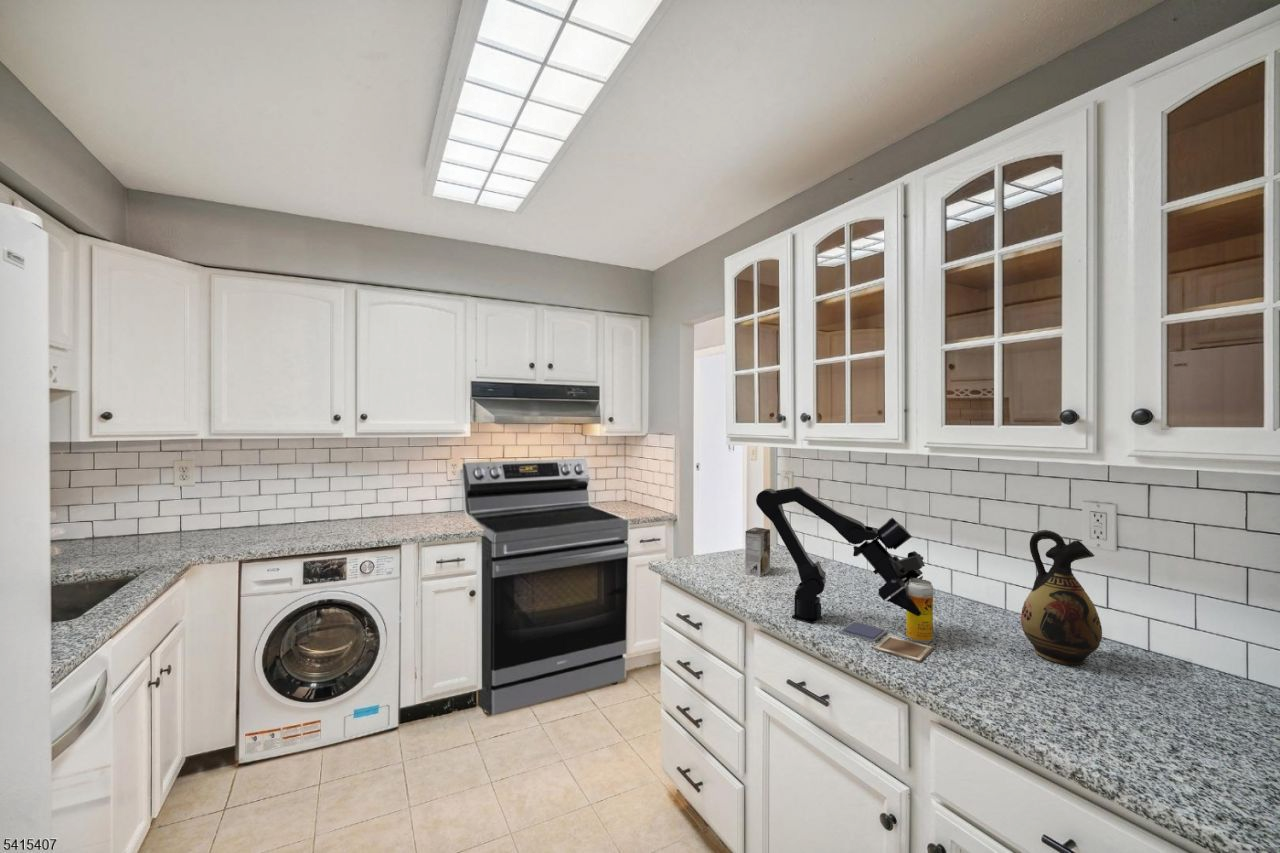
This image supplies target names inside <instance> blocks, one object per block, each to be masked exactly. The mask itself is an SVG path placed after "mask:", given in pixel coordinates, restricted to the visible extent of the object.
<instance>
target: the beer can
mask: <svg viewBox="0 0 1280 853" xmlns="http://www.w3.org/2000/svg"><path fill="white" fill-rule="evenodd" d="M907 586H908V595H909V596H910V597H911V599H912V600H913V602H914V603H915V605H916V606H917V607H918V609H919V611H920V612H921V615H920V616H916V615H914V614H913V613H911V612H909V611H907V610H905V611H906V616H905V617H906V619H905V621H906V626H905V627H906V630H905V632H906V636H907V637H908V640H909V641H912V642H915V643H919V644H929V643H930V642H931V641H933V636H934V633H933V632H934V627H933V626H934V625H933V624H934V623H933V622H934V586H933V583H932V582H931V581H930V580H927V579H924V578H922V579H909V581H908V583H907Z"/></svg>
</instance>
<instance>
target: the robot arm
mask: <svg viewBox="0 0 1280 853" xmlns="http://www.w3.org/2000/svg"><path fill="white" fill-rule="evenodd" d="M755 502H756V506H757V507H758V508H759V510H761V512H762V514H764V516H765V517H766V518H767V519H769V520H770V521H771V522H772V524H773V526H774V528H775V529H776V531H777V533H778V535H779V537H780V539H781V540H782V542H783V543H784V545H785V547H786V549H787V551H788V553H789V555H790V556H791V558H792V559H793V561H794V564H795V565H796V567H797V571H798V574H799V575H798V576H799V579H800V582H799V583H798V585H797V586H796V590H795V592H794V605H793V606H794V607H793V608H794V611H793V612H794V614H792V615H791V619H794V620H799V621H802V622H807V623H811V624H815V622H818V621H819V620H821V619H823V615H822V603H821V598H820V597H819V595H821V594H822V593H823V591H824V589H825V586H826V584H827V578H826V575H827V573H826V571H824V570H823V568H822V565H821V563H820V561H819V560H818V561H816V562H814V561H813V560H812V559H811V558H810V557H809V555H808V553H807V552H806V550H805V547H804V546H803V545H802V543H801V541H800V538H799V537H798V535H797V534H796V531H795V530H794V529H793V527H792V525H791V523H790V522H789V520H788V518H787V517H786V513H785V511H784V507H783V505H785V504H789V503H797V504H799V505H800V506H802V507H803V508H805V509H806V510H808V512H811V513H813V514H814V515H815V516H817V517H819V518H820V519H821V520H823V521H824V522H826V523H828V524H829V525H830V526H832V527H833V528H834V529H835V530H836V532H837V533H839V535H840V536H841V537H842V538H844V539H845V540H846V541H847V542H848V543H850V544H852V545H853V553H852V555H853V557H859V556H860V555H862V556H863V558H864V559H865V560H867V562H868V563H869V564H870V565H871V566H872V568H873V569H874V570H873V571H872V572H873V573H874V574H875V575H877V574H878V576H880V577H881V579H883V580H884V581H885V583H884V584H883V585H882V586H881V587H880V588H878V595H879V597H880V598H881V599H882V601H885V600H886V602H888V603H892V604H893V605H895V606H897V607H900V608H901V609H904V610H905V611H909V612H911V613H913V614H914V615H916V616H920V615H921V612H920V611H919V609H918V607H917V606H916V605H915V603H914V602H913V600H912V599H911V597H910V596H909V595H908V586H907V583H908V581H909V579H924V575H923V574H924V573H923V571H921V569H922V568H923V567H925V566H926V565H925V563H924V561H923V560H924V557H923V555H921V554H920V553H918V552H916V551H915V550H913V551H911V552H908V553H907V557H904V558H901V559H900V558H899V557H898V556H897V555H893V556H892V555H891V553H890V552H889V551H888V550H892V549H893V550H897V549H898V548H900V546H903V544H905V543H906V542H907V541H908V540H909V539H911V538H912V537H913V536H912V535H911V534H910V532H909V531H908V530H907V528H905V527H904V526H903V525H902V524H900V523H899V522H898V521H897V520H896V519H895V518H894V517H891V518H889V519H888V520H887V521H886V522H885V523H884V524H883V525H882V526H880V527H879V528H877V527H875V526H874V527H872V526H868V525H866V524H864V523H863V522H862V521H860V520H858V519H856V518H853V517H851V516H849V515H846V514H842V513H840V512H838V511H836V510H835V509H833V508H832V507H831V506H829V505H827V504H826V503H824V502H822V501H821V500H820V499H818V498H816V497H815V496H813V494H810V493H809V492H807V491H806V490H804V489H803V487H801V486H795V487H791V488H783V489H778V490H775V489H774V488H765V489H763V490H762V491H760V492H759V493H758V494H757V495H756V498H755ZM879 540H880V541H879ZM869 541H870V542H869ZM855 545H856V546H855ZM857 545H859V546H857ZM884 546H885V547H886V548H887V549H886V548H885V547H884Z"/></svg>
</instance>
